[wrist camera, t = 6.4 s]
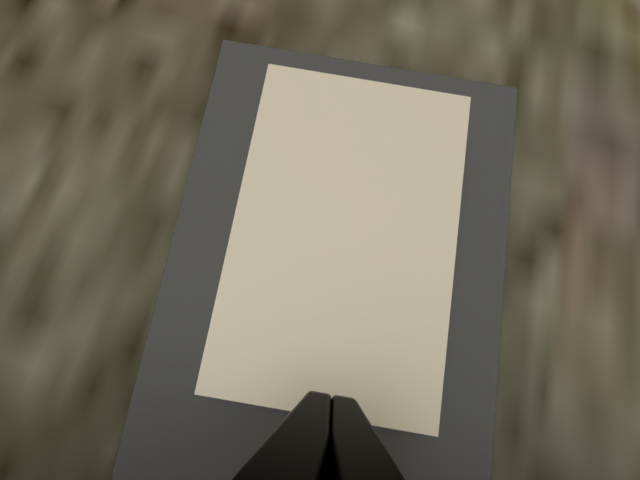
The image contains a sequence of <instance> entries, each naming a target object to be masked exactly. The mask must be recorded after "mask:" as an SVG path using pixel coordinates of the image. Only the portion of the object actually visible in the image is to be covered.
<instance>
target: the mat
mask: <svg viewBox="0 0 640 480" xmlns="http://www.w3.org/2000/svg"><path fill="white" fill-rule="evenodd" d="M268 64H274V65H280V66H286V67H292V68H298V69H304V70H310V71H316V72H322V73H328V74H334V75H340V76H346V77H352V78H358V79H365V80H371V81H377V82H383V83H389V84H395V85H401V86H407V87H413V88H419V89H425V90H431V91H437V92H443V93H449V94H455V95H461V96H467V97H471V102H470V112H469V122H468V133H467V143H466V153H465V164H464V174H463V184H462V195H461V205H460V216H459V226H458V236H457V247H456V257H455V267H454V278H453V288H452V298H451V309H450V319H449V330H448V340H447V350H446V361H445V371H444V381H443V392H442V402H441V413H440V423H439V433H438V437H436V436H430V435H424V434H419V433H413V432H407V431H401V430H396V429H390V428H384V427H378V426H373V425H372V427H373V428H374V430H375V431H376V433H377V435H378V436H379V438H380V440H381V441H382V443H383V444H384V446H385V448H386V449H387V451H388V453H389V454H390V456H391V457H392V459H393V461H394V462H395V464H396V465H397V467H398V469H399V470H400V472H401V474H402V475H403V477H404V478H405V480H491V468H492V453H493V438H494V424H495V409H496V394H497V380H498V365H499V351H500V336H501V321H502V307H503V292H504V278H505V263H506V248H507V234H508V219H509V204H510V190H511V175H512V161H513V146H514V131H515V117H516V102H517V88H514V87H508V86H501V85H495V84H489V83H483V82H477V81H471V80H465V79H459V78H453V77H447V76H441V75H435V74H429V73H423V72H416V71H410V70H404V69H398V68H392V67H386V66H380V65H374V64H368V63H362V62H356V61H350V60H344V59H338V58H331V57H325V56H319V55H313V54H307V53H301V52H295V51H289V50H283V49H277V48H271V47H265V46H259V45H253V44H246V43H240V42H234V41H228V40H223V43H222V47H221V51H220V55H219V59H218V63H217V67H216V71H215V75H214V79H213V82H212V86H211V90H210V94H209V98H208V102H207V106H206V110H205V114H204V117H203V121H202V125H201V129H200V133H199V137H198V141H197V145H196V149H195V153H194V156H193V160H192V164H191V168H190V172H189V176H188V180H187V184H186V188H185V192H184V195H183V199H182V203H181V207H180V211H179V215H178V219H177V223H176V227H175V230H174V234H173V238H172V242H171V246H170V250H169V254H168V258H167V262H166V266H165V269H164V273H163V277H162V281H161V285H160V289H159V293H158V297H157V301H156V305H155V308H154V312H153V316H152V320H151V324H150V328H149V332H148V336H147V340H146V344H145V347H144V351H143V355H142V359H141V363H140V367H139V371H138V375H137V379H136V382H135V386H134V390H133V394H132V398H131V402H130V406H129V410H128V414H127V418H126V421H125V425H124V429H123V433H122V437H121V441H120V445H119V449H118V453H117V457H116V460H115V464H114V468H113V472H112V476H111V480H231V479H232V478H233V477H234V476H235V475H236V474H237V473H238V471H239V470H240V469H241V468H242V467H243V466H244V465H245V463H246V462H247V461H248V460H249V459H250V458H251V457H252V455H253V454H254V453H255V452H256V451H257V450H258V449H259V447H260V446H261V445H262V444H263V443H264V442H265V441H266V439H267V438H268V437H269V436H270V435H271V434H272V433H273V431H274V430H275V429H276V428H277V427H278V426H279V425H280V423H281V422H282V421H283V420H284V419H285V418H286V417H287V415H288V414H289V413H290V412H291V411H287V410H281V409H275V408H269V407H264V406H258V405H252V404H246V403H241V402H235V401H229V400H223V399H218V398H212V397H206V396H200V395H195V394H194V393H195V388H196V384H197V380H198V375H199V371H200V366H201V362H202V357H203V353H204V348H205V344H206V340H207V335H208V331H209V326H210V322H211V317H212V313H213V308H214V304H215V299H216V295H217V291H218V286H219V282H220V277H221V273H222V268H223V264H224V259H225V255H226V251H227V246H228V242H229V237H230V233H231V228H232V224H233V219H234V215H235V210H236V206H237V202H238V197H239V193H240V188H241V184H242V179H243V175H244V170H245V166H246V162H247V157H248V153H249V148H250V144H251V139H252V135H253V130H254V126H255V121H256V117H257V113H258V108H259V104H260V99H261V95H262V90H263V86H264V81H265V77H266V72H267V68H268Z"/></svg>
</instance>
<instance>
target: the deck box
mask: <svg viewBox="0 0 640 480" xmlns="http://www.w3.org/2000/svg"><path fill="white" fill-rule="evenodd" d="M470 102H471V97H467V96H461V95H455V94H449V93H443V92H437V91H431V90H425V89H419V88H413V87H407V86H401V85H395V84H389V83H383V82H377V81H371V80H365V79H358V78H352V77H346V76H340V75H334V74H328V73H322V72H316V71H310V70H304V69H298V68H292V67H286V66H280V65H274V64H268V68H267V72H266V77H265V81H264V86H263V90H262V95H261V99H260V104H259V108H258V113H257V117H256V121H255V126H254V130H253V135H252V139H251V144H250V148H249V153H248V157H247V162H246V166H245V170H244V175H243V179H242V184H241V188H240V193H239V197H238V202H237V206H236V210H235V215H234V219H233V224H232V228H231V233H230V237H229V242H228V246H227V251H226V255H225V259H224V264H223V268H222V273H221V277H220V282H219V286H218V291H217V295H216V299H215V304H214V308H213V313H212V317H211V322H210V326H209V331H208V335H207V340H206V344H205V348H204V353H203V357H202V362H201V366H200V371H199V375H198V380H197V384H196V388H195V393H194V394H195V395H200V396H206V397H212V398H218V399H223V400H229V401H235V402H241V403H246V404H252V405H258V406H264V407H269V408H275V409H281V410H287V411H292V410H293V408H294V407H295V406H296V405H297V404H298V403H299V402H300V400H301V399H302V398H303V397H304V396H305V395H306V394H307V393H308V392H309V391H316V392H322V393H328V394H330V395H331V399H332V397H333V396H334V395H339V396H345V397H351V398H354V399H355V400H356V401H357V402H358V404H359V406H360V407H361V409H362V410H363V412H364V414H365V415H366V417H367V419H368V420H369V422H370V423H371V425H373V426H378V427H384V428H390V429H396V430H401V431H407V432H413V433H419V434H424V435H430V436H436V437H438V433H439V423H440V413H441V402H442V392H443V381H444V371H445V361H446V350H447V340H448V330H449V319H450V309H451V298H452V288H453V278H454V267H455V257H456V247H457V236H458V226H459V216H460V205H461V195H462V184H463V174H464V164H465V153H466V143H467V133H468V122H469V112H470Z"/></svg>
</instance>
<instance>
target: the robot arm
mask: <svg viewBox="0 0 640 480" xmlns="http://www.w3.org/2000/svg"><path fill="white" fill-rule="evenodd" d="M231 480H405V478H404V477H403V475H402V474H401V472H400V470H399V469H398V467H397V465H396V464H395V462H394V461H393V459H392V457H391V456H390V454H389V453H388V451H387V449H386V448H385V446H384V444H383V443H382V441H381V440H380V438H379V436H378V435H377V433H376V431H375V430H374V428H373V427H372V425H371V423H370V422H369V420H368V419H367V417H366V415H365V414H364V412H363V410H362V409H361V407H360V406H359V404H358V402H357V401H356V400H355V399H354V398H351V397H345V396H339V395H334V396H333V397H332V399H331V395H330V394H328V393H322V392H316V391H309V392H308V393H307V394H306V395H305V396H304V397H303V398H302V399H301V400H300V402H299V403H298V404H297V405H296V406H295V407H294V408H293V410H292V411H291V412H290V413H289V414H288V415H287V417H286V418H285V419H284V420H283V421H282V422H281V423H280V425H279V426H278V427H277V428H276V429H275V430H274V431H273V433H272V434H271V435H270V436H269V437H268V438H267V439H266V441H265V442H264V443H263V444H262V445H261V446H260V447H259V449H258V450H257V451H256V452H255V453H254V454H253V455H252V457H251V458H250V459H249V460H248V461H247V462H246V463H245V465H244V466H243V467H242V468H241V469H240V470H239V471H238V473H237V474H236V475H235V476H234V477H233V478H232V479H231Z"/></svg>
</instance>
